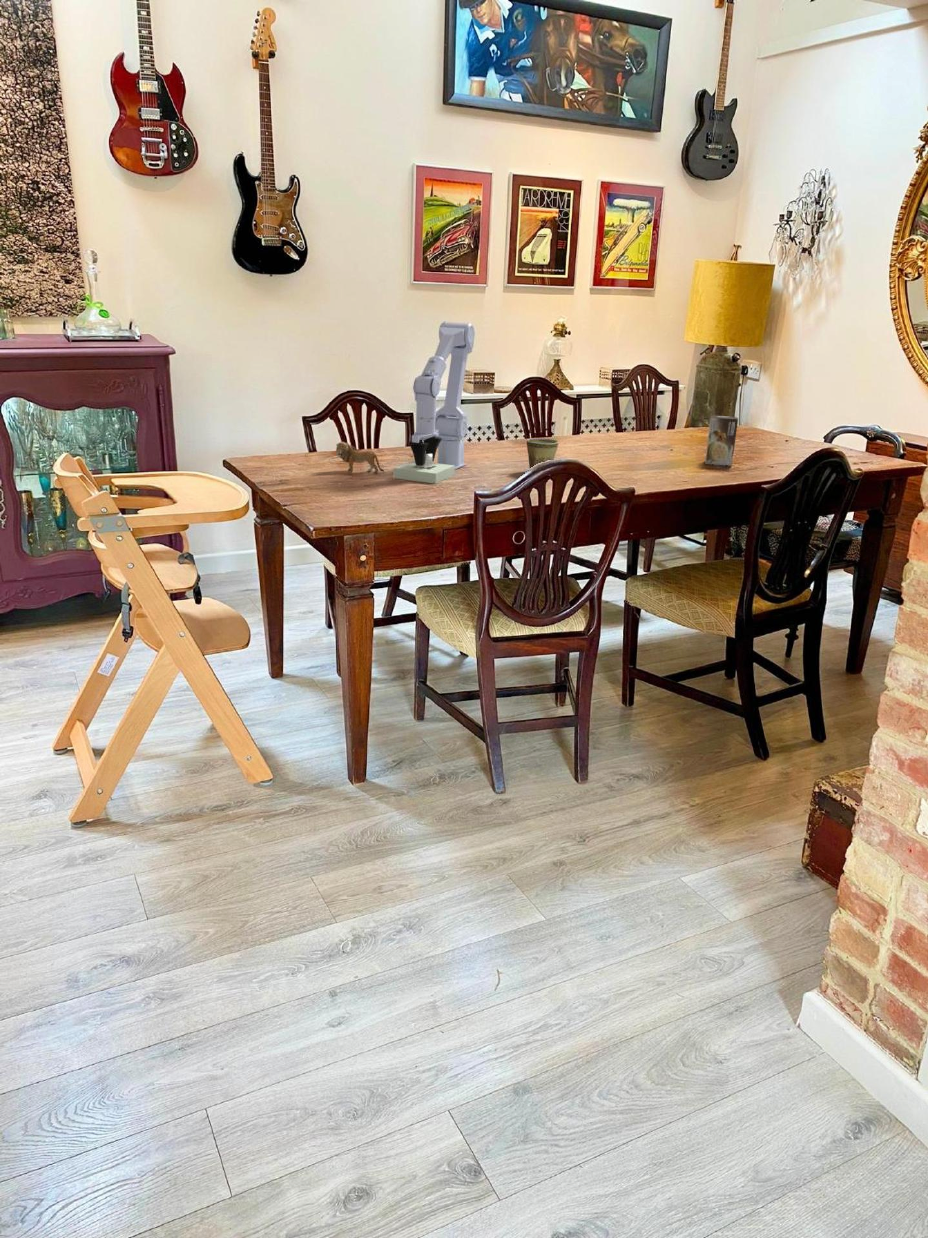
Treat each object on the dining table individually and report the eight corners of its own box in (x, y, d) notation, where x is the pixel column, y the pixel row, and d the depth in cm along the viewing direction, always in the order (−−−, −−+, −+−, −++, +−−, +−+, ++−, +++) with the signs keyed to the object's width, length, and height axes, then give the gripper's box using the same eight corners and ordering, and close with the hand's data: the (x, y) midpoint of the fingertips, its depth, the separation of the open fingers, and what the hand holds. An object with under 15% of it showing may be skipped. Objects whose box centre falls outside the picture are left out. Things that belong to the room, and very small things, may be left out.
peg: (421, 474, 267) (421, 451, 264) (433, 476, 266) (434, 453, 263) (417, 477, 263) (417, 454, 261) (429, 478, 262) (430, 455, 260)
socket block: (413, 469, 273) (414, 460, 272) (454, 475, 268) (455, 465, 267) (393, 477, 261) (393, 467, 260) (435, 483, 256) (436, 473, 255)
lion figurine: (335, 472, 265) (334, 443, 262) (337, 469, 270) (337, 440, 266) (383, 474, 265) (383, 444, 262) (384, 471, 270) (385, 441, 267)
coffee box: (731, 463, 306) (738, 416, 301) (731, 466, 301) (739, 419, 295) (704, 460, 308) (710, 414, 302) (704, 464, 302) (711, 417, 297)
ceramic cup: (554, 476, 272) (556, 444, 269) (522, 474, 274) (524, 442, 270) (558, 468, 284) (560, 437, 281) (528, 466, 286) (530, 435, 282)
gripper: (427, 421, 251) (426, 468, 256) (448, 415, 263) (446, 460, 268) (405, 419, 253) (405, 466, 258) (426, 413, 266) (425, 458, 271)
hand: (424, 463), depth 263 cm, fingers open, 7 cm apart
